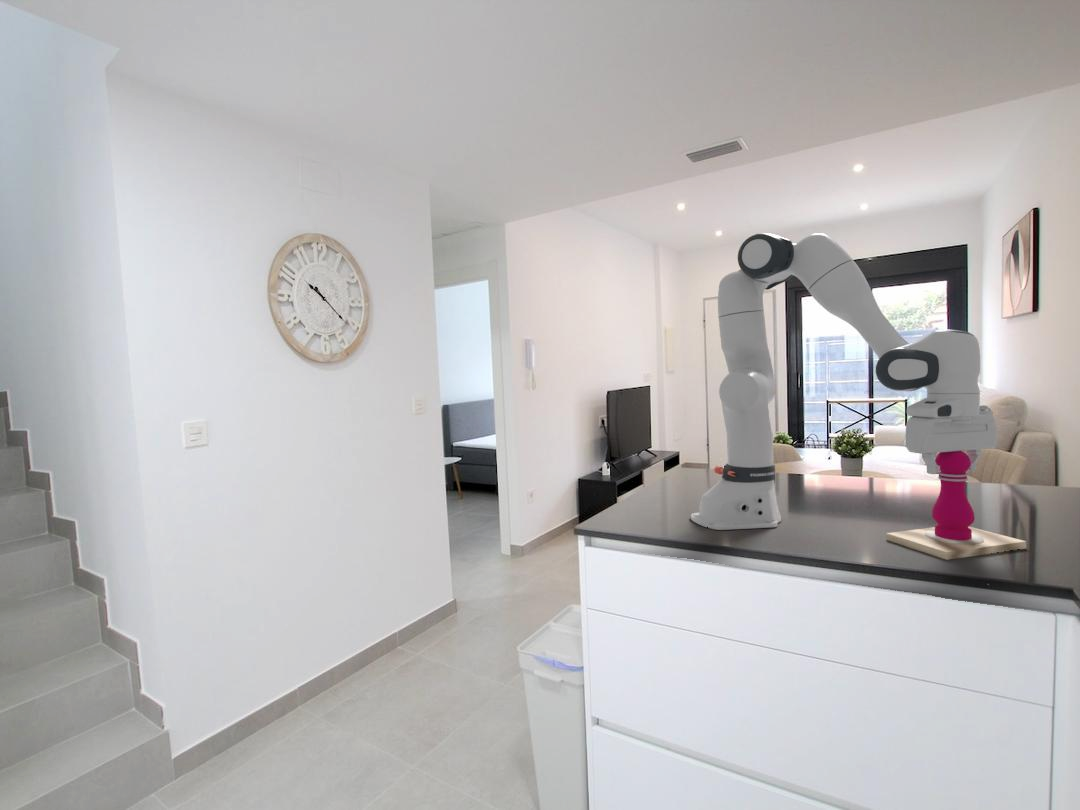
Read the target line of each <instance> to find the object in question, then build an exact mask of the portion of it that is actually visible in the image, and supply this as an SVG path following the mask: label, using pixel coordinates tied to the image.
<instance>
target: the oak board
mask: <svg viewBox="0 0 1080 810" xmlns="http://www.w3.org/2000/svg"><path fill="white" fill-rule="evenodd" d="M968 528H970V529H971V530H972V538H971V539H969V540H951V539H945V538H941V537H938V536H936V535H935V526H933V527H926V528H917V529H909V530H900V531H893V532H886V540H887V541H888V542H892V543H894V544H898V545H901V546H904V547H907V548H910V549H913V550H916V551H919V552H922V553H925V554H928V555H931V556H934V557H937V558H940V559H943V560H946V561H948V560H955V559H963V558H969V557H971V558H972V557H976V556H983V555H991V553H992V554H997V552H999V553H1004V551H1006V552H1011V551H1010V550H1013V551H1018V550H1017V549H1020V550H1026V549H1027V541H1026V540H1024V539H1023V540H1022V539H1019V538H1014V537H1012V536H1007V535H1003V534H999V533H995V532H992V531H987V530H984V529H980V528H976V527H973V526H969V527H968Z"/></svg>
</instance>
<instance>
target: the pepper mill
mask: <svg viewBox="0 0 1080 810" xmlns="http://www.w3.org/2000/svg"><path fill="white" fill-rule="evenodd" d="M934 459H935V462H936V464H937V465H938V466H940V473H939V474H938V475H937V478H938V479H939V480H940V489H939V490H940V491H939V493H938V496H937V499H936V500H935V502H934V504H933V506H932V511H931V512H932V513H931V517H932V519H933V520H934V521H935V523H937V524H936V525H934V527H935V535H936V536H938V537H941V538H945V539H951V540H969V539H971V538H972V530H971V529H970V528H968V527H971V526H972V525H973V523H974V522H975V520H976V518H975V512H974V509H973V507H972V505H971V504H970V502H969V500H968V497H967V494H966V482H967V481H968V480H969V479H968V475H969V474H968V473H967V472H968V471H967V470H968V469H969V468H970V466H971V461H970V458H969V456H968V454H967V452H965V451H954V452H940V453H937V456H936V458H934Z"/></svg>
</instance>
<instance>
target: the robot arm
mask: <svg viewBox="0 0 1080 810" xmlns="http://www.w3.org/2000/svg"><path fill="white" fill-rule="evenodd" d="M737 263H738V266H739V268H740V269H739V270H737V271H733V272H729V273H728V274H726V275H725V276H724V277H723V278H721V280H720V282H719V284H718V290H717V291H718V292H717V316H718V327H719V335H720V336H719V337H720V346H721V350H722V353H723V356H724V359H725V362H726V367H727V370H728V374H726V376H725V377H724V378H723V380H722V381H721V383H720V385H719V390H718V392H719V393H718V395H719V398H720V401H721V409H722V416H723V420H724V425H725V431H726V446H727V447H726V450H727V452H726V453H727V464H725V467H723V466H720V465H716V466H714V467H713V473H715V474H718V475H721V479H720V480H718V481H717V483H715V484H714V485H713V486H712V487H710V489H709V490H707V491H706V492H705V493H703V495H702V496H701V498H700V502H699V512H693V513H691V514H690V520H691V521H692V522H693V523H695V524H698V525H700V526H702V527H705V528H707V527H708V528H707V529H710V530H717V531H726V530H727V531H728V530H748V529H763V528H764V529H766V528H767V529H768V528H777V527H778V523H780V522H781V521H782V516H781V513H780V511H779V506H778V503H777V501H778V500H777V496H776V495H777V494H776V488H775V483H776V479H777V478H776V465H775V464H774V445H773V444H774V443H773V442H774V440H773V439H774V437H773V436H774V435H773V432H772V426H771V425H772V424H771V420H770V419H771V418H770V412H769V404H770V403H771V402H772V401H773V399H774V398H775V394H776V389H777V388H776V381H775V376H774V369H773V365H772V358H771V353H770V349H769V346H768V337H767V329H766V321H765V320H766V319H765V310H764V309H765V308H764V300H763V299H764V296H763V295H764V292H765V290H766V291H767V290H771V289H773V288H774V287H777V286H778V285H780V284H783V283H785V282H787V281H788V280H790V279H791V278H793V276H794V277H796V278H797V279H798V280H800V282H801V283H802V284H803V286H804V287H805V288H806V290H807V291H808V293H809V294H810V295H811V296H812V298H813V299H814V300H815V301H816V302H817V304H819V305H820V306H821V307H822V308H823V309H825V310H826V311H827V312H829V314H832V315H833V316H836V317H837V318H839V319H841V320H843V321H844V322H846V323H848V324H849V325H850V326H851V327H853V328H854V329H855V330H856V331H857V332H858V334H859V335H860V336H861V337H862V338H863V339H864V341H865V342H866V343H867V344H868V346H869V347H870V348H871V350H872V351H873V352H874V353H875V355H876V356H877V358H878V361H877V362H876V365H875V374H876V378H877V379H878V381H879V382H880V384H882V385H883V386H884V387H885V388H887V389H890V390H892V391H896V392H913V391H918V390H920V389H922V388H925V389H926V397H925V398H923V399H921V400H919V401H916V402H914V403H913V404H910V405H908V406H907V407H906V415H907V416H909V418H908V419H907V421H906V425H905V436H904V437H905V440H904V441H905V447H906V449H907V451H908V452H909V453H913V454H914V453H915V454H920V455H921V458H922V460H923V462H924V463H925V465H926V473H927V474H929V475H939V473H940V466H938V465H937V464H936V462H935V458H936V456H937V454H938V453H940V452H954V451H962V452H965V451H966V454H967V455H968V456H969V458H970V461H971V466H970V468H969V469H968V470H967V471H966V472H975V471H976V470H977V463H978V461H980V458H981V456H982V450H991V449H995V447H996V446H997V444H998V431H997V423H996V420H995V417H994V412H993V410H992V409H991V407H990V408H989V406H988V405H983V404H981V405H980V403H981V402H980V400H981V399H980V397H981V390H980V387H979V383H978V382H979V381H978V380H979V376H980V374H981V350H980V349H981V348H980V343H979V340H978V338H977V337H976V336H975V335H974V334H973V333H970V332H969V331H966V330H964V331H963V330H956V329H945V328H944V329H943V328H941V329H940V328H939V329H935V330H932V331H931V332H930V333H929V334H927V335H925V336H924V337H922V338H919V339H917V340H915V341H912V342H911V343H908V342H907V341H906V340H905V339H904V338H903V337H902V335H901V334H900V333H899V332H898V331H897V330H896V328H895V327H894V326H893V325H892V323H891V322H890V321H889V320H888V319H887V317H886V316H885V315H884V313H883V312H882V310H881V308H880V307H879V305H878V303H877V301H876V298H875V296H874V293H873V291H872V289H871V287H870V285H869V282H868V281H867V279H866V277H865V275H864V273H863V272H862V270H861V268H860V267H859V265H858V264H857V263H856V262H855V260H854V259H853V258H852V256H851V255H850V254H849V253H848V252H847V251H846V250H845V249H844V248H843V247H842V246H841V245H840V244H839V243H837V241H835V240H834V239H833V238H831V237H830V236H829V235H827V234H825V233H821V232H819V233H818V232H817V233H812V234H810V235H807V236H805V237H803V238H802V239H801V240H799V241H798V242H796V243H793V241H792V240H791V239H788V238H784V237H782V236H780V235H776V234H772V233H769V232H763V233H756V234H754V235H751V236H750V237H748V238H746V240H744V241H742V244H741V245H740V247H739V249H738V252H737Z"/></svg>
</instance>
